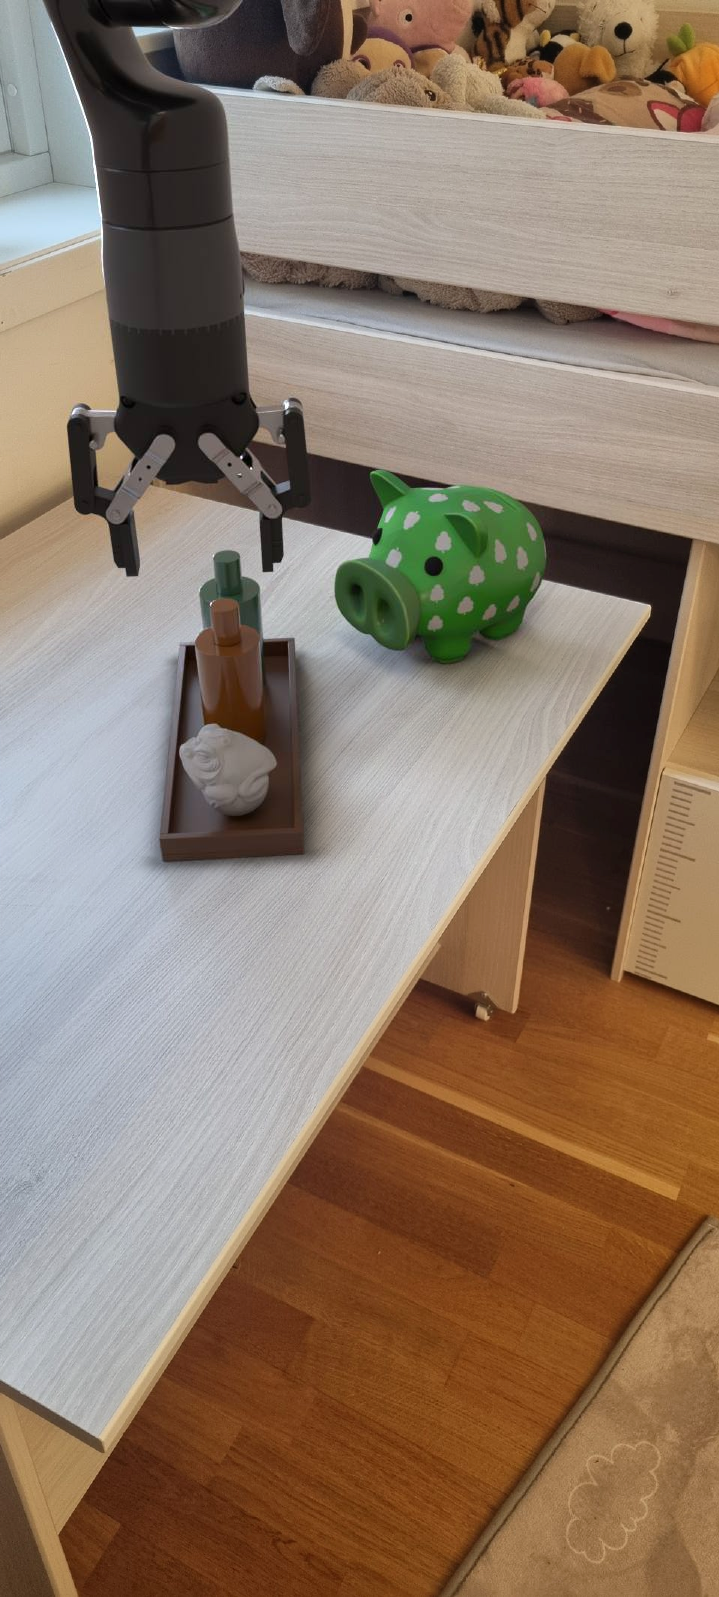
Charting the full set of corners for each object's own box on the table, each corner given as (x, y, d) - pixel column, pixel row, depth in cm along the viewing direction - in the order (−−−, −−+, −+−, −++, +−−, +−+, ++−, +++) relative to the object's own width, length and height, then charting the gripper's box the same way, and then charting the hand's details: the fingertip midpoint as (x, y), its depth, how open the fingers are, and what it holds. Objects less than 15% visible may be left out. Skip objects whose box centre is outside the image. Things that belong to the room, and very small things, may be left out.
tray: (303, 854, 87) (302, 832, 85) (162, 861, 86) (159, 839, 85) (295, 657, 108) (294, 637, 107) (182, 662, 108) (179, 642, 106)
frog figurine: (192, 784, 92) (182, 709, 88) (282, 783, 92) (277, 708, 88) (182, 834, 88) (171, 757, 83) (277, 834, 88) (271, 757, 83)
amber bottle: (235, 760, 95) (222, 628, 87) (192, 736, 97) (176, 606, 90) (279, 732, 98) (270, 602, 90) (236, 710, 100) (225, 582, 93)
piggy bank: (321, 637, 111) (315, 483, 101) (465, 577, 119) (472, 431, 110) (422, 703, 102) (426, 541, 93) (570, 633, 111) (587, 479, 101)
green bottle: (237, 704, 101) (225, 576, 94) (196, 683, 104) (182, 557, 96) (278, 680, 104) (270, 554, 97) (238, 660, 107) (227, 536, 99)
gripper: (36, 326, 63) (81, 601, 73) (306, 319, 64) (315, 592, 74) (55, 288, 69) (95, 547, 79) (302, 282, 70) (310, 539, 80)
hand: (201, 568), depth 76 cm, fingers open, 8 cm apart
